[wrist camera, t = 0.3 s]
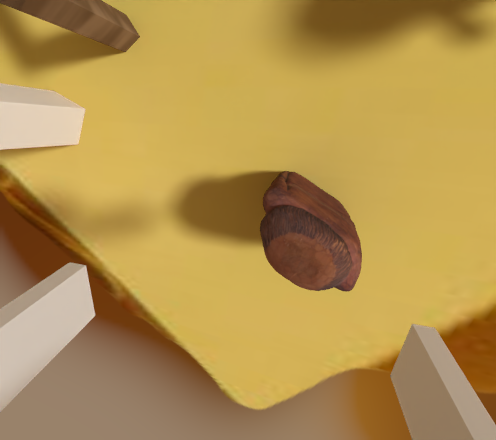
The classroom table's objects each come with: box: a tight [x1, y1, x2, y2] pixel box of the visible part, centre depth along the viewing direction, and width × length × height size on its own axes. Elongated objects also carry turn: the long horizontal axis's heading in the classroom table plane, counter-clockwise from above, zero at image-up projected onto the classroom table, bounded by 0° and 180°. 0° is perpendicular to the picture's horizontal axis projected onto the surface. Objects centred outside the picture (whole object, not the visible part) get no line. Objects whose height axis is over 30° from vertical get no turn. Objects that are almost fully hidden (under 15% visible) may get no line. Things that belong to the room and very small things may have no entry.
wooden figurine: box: [260, 171, 362, 291], centre depth 29 cm, size 12×6×18 cm, turn 57°
